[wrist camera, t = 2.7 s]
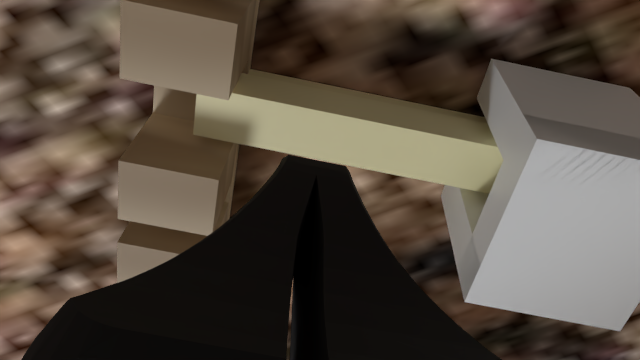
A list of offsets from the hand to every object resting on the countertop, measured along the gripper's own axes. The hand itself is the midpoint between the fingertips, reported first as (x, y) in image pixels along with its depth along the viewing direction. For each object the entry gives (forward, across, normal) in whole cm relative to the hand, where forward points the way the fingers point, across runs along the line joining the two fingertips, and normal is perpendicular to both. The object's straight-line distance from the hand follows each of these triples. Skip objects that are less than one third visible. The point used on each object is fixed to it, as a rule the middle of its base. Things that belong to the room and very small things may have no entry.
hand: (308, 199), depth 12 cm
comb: (+6, +3, 0) cm, 6 cm away
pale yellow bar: (+6, -8, 0) cm, 10 cm away
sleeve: (+6, -6, 0) cm, 8 cm away
